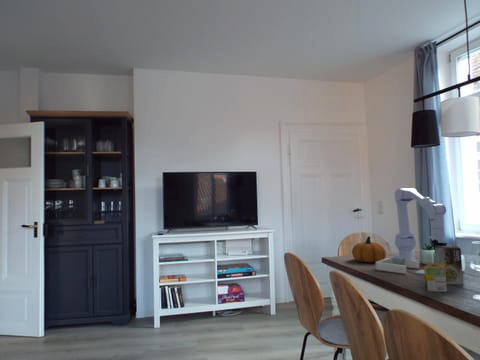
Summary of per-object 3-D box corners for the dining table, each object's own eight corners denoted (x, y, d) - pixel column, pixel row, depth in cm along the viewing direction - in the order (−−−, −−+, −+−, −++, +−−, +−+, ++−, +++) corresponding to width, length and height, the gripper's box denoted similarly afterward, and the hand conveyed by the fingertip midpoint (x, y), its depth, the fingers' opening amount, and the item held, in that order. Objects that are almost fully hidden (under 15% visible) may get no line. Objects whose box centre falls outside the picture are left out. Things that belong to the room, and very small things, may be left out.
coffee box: (459, 281, 151) (457, 245, 152) (463, 285, 145) (461, 247, 146) (436, 280, 154) (434, 245, 155) (440, 283, 148) (437, 247, 149)
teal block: (396, 268, 183) (395, 257, 183) (405, 269, 179) (404, 258, 180) (392, 269, 180) (392, 258, 181) (402, 270, 177) (401, 259, 177)
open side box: (389, 264, 192) (389, 257, 192) (419, 268, 181) (418, 260, 181) (375, 269, 180) (375, 262, 181) (406, 273, 169) (405, 265, 169)
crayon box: (444, 290, 138) (442, 261, 139) (447, 292, 135) (445, 263, 136) (425, 289, 140) (423, 261, 141) (427, 291, 137) (426, 263, 138)
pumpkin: (346, 261, 206) (345, 237, 206) (361, 257, 218) (360, 234, 219) (377, 265, 191) (375, 239, 192) (391, 260, 204) (390, 236, 205)
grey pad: (421, 270, 176) (421, 269, 176) (440, 272, 169) (440, 272, 169) (414, 273, 170) (414, 272, 170) (433, 275, 163) (433, 275, 163)
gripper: (426, 226, 175) (427, 252, 174) (430, 229, 161) (432, 257, 160) (441, 226, 172) (443, 253, 171) (447, 229, 159) (449, 258, 158)
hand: (439, 255), depth 166 cm, fingers open, 7 cm apart
